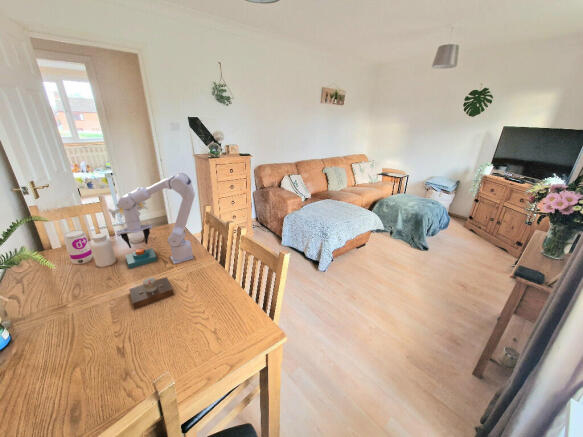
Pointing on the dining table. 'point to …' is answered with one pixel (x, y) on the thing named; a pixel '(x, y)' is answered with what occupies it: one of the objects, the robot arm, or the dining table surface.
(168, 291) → the lock panel
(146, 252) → the push button box
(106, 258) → the pill bottle
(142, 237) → the flower vase
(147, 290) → the lock dial
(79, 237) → the supplement can
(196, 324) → the dining table surface
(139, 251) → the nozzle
